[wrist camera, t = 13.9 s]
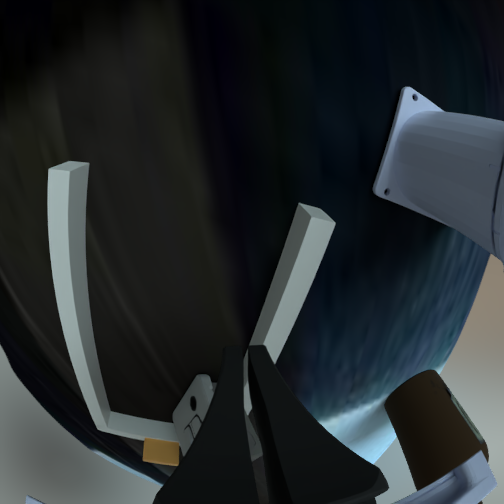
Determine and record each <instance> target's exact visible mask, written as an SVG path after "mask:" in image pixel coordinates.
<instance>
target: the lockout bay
mask: <svg viewBox="0 0 504 504" xmlns="http://www.w3.org/2000/svg"><path fill="white" fill-rule="evenodd" d="M88 171H89V163H84V162H75V161H68V162H65V163H63V164H60V165H57V166H55V167H52V168H50V169H49V174H48V230H49V245H50V256H51V266H52V274H53V281H54V287H55V293H56V299H57V305H58V310H59V314H60V319H61V324H62V328H63V332H64V336H65V340H66V344H67V347H68V351H69V354H70V358H71V361H72V364H73V368H74V371H75V374H76V377H77V380H78V382H79V385H80V388H81V391H82V393H83V396H84V399H85V401H86V404H87V406H88V409H89V411H90V413H91V416H92V418H93V420H94V423H95V425H96V427H97V429H98V430H101V431H104V432H108V433H112V434H116V435H120V436H125V437H129V438H134V439H139V440H144V452H143V461H146V462H152V463H158V464H165V465H173V466H178V465H179V446H180V443H179V440H178V437H177V433H176V430H175V426H174V423H168V422H161V421H155V420H150V419H144V418H139V417H134V416H129V415H125V414H121V413H116V412H112V411H111V410H110V407H109V403H108V400H107V396H106V392H105V388H104V384H103V380H102V376H101V371H100V367H99V362H98V357H97V352H96V347H95V341H94V335H93V329H92V322H91V314H90V306H89V296H88V285H87V271H86V243H85V224H86V196H87V182H88ZM335 224H336V223H335V222H334V221H333V220H332V219H331V218H330V217H329V216H328V215H327V214H326V213H325V212H323V211H322V210H321V209H320V208H316V207H312V206H308V205H305V204H301V203H298V206H297V210H296V213H295V216H294V219H293V222H292V225H291V228H290V231H289V234H288V237H287V240H286V243H285V246H284V249H283V252H282V254H281V257H280V260H279V263H278V266H277V269H276V272H275V275H274V278H273V280H272V283H271V286H270V289H269V292H268V295H267V297H266V300H265V303H264V306H263V309H262V311H261V314H260V317H259V320H258V322H257V325H256V328H255V331H254V333H253V336H252V339H251V341H250V344H249V345H265V346H266V348H267V350H268V352H269V354H270V356H271V358H272V360H273V362H274V364H275V363H276V360H277V358H278V356H279V354H280V352H281V350H282V348H283V346H284V344H285V342H286V340H287V338H288V336H289V333H290V331H291V329H292V327H293V325H294V323H295V320H296V318H297V316H298V314H299V312H300V309H301V307H302V305H303V303H304V300H305V298H306V296H307V293H308V291H309V289H310V286H311V284H312V282H313V279H314V277H315V275H316V272H317V270H318V267H319V265H320V262H321V260H322V257H323V255H324V252H325V250H326V247H327V245H328V242H329V240H330V237H331V234H332V232H333V229H334V227H335ZM244 408H245V411H246V413H247V415H248V414H249V412H250V411H251V409H252V405H251V400H250V394H249V385H248V349H247V352H246V355H245V357H244Z"/></svg>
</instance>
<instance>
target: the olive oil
mask: <svg viewBox="0 0 504 504" xmlns="http://www.w3.org/2000/svg"><path fill="white" fill-rule="evenodd" d="M384 407H385V410H386V412H387V414H388V417H389V419H390V421H391V423H392V426H393V428H394V430H395V433H396V435H397V437H398V440H399V442H400V445H401V448H402V450H403V453H404V455H405V458H406V461H407V464H408V466H409V469H410V472H411V475H412V478H413V481H414V484H415V487H416V489H417V491H419V490H421V489H422V488H424V487H426V486H428V485H430V484H431V483H433V482H435V481H436V480H437V479H439V478H441V477H442V476H444V475H445V474H447V473H448V472H450V471H452V470H453V469H455V468H456V467H458V466H459V465H461V464H462V463H463V462H465V461H466V460H468V459H469V458H470V457H472V456H473V455H474V454H476V453H477V452H478V451H480V450H481V451H482V453H483V455H484V457H485V459H486V461H487V463H488V459H489V454H488V448H487V444H486V442H485V440H484V439H483V437H482V436H481V434H480V433H479V431H478V430H477V428H476V427H475V425H474V424H473V422H472V421H471V420H470V418H469V417H468V415H467V414H466V412H465V411H464V409H463V408H462V407H461V405H460V404H459V402H458V401H457V400H456V398H455V397H454V395H453V394H452V392H451V391H450V390H449V388H448V387H447V386H446V384H445V383H444V381H443V380H442V379H441V377H440V376H439V374H438V373H437V372H436V371H435V370H427V371H424V372H422V373H420V374H418V375H416V376H414V377H412V378H411V379H409V380H408V381H406V382H405V383H403V384H402V385H401V386H400V387H398V388H397V389H396V390H395V391H394V392H393V393H392V394H391V395H390V396H389V397H388V399H387V400H386V402H385V405H384ZM478 504H482V500H481V501H480V502H479V503H478Z"/></svg>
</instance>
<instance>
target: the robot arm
mask: <svg viewBox="0 0 504 504" xmlns="http://www.w3.org/2000/svg"><path fill="white" fill-rule="evenodd" d="M412 95H414V100H413V98H412ZM386 188H387V192H386V193H385V194H384V190H385V189H386ZM373 192H374V194H375V195H377V196H379V197H381V198H384V199H387V200H389V201H392V202H394V203H397V204H399V205H402V206H404V207H407V208H409V209H411V210H414V211H416V212H418V213H421V214H423V215H425V216H428V217H430V218H432V219H434V220H437V221H439V222H441V223H443V224H445V225H447V226H450V227H453V228H454V229H456V230H457V231H459V232H461V233H462V234H464V235H465V236H467V237H468V238H470V239H471V240H473V241H474V242H476V243H477V244H478V245H480V246H481V247H483V248H484V249H486V250H487V251H488V252H490V253H491V254H493V255H494V256H495V257H497V258H498V259H499V260H501V261H502V262H503V265H504V121H499V120H494V119H489V118H484V117H478V116H472V115H466V114H459V113H451V112H444V111H443V110H441V109H440V108H439V107H437V106H436V105H435V104H433V103H432V102H431V101H429V100H428V99H427V98H425V97H424V96H422V95H421V94H419V93H418V92H416V91H415V90H413V89H412V88H410V87H404V88H402V90H401V94H400V98H399V102H398V106H397V110H396V114H395V117H394V121H393V125H392V128H391V132H390V135H389V139H388V142H387V145H386V149H385V152H384V155H383V158H382V161H381V165H380V168H379V171H378V174H377V177H376V180H375V182H374V185H373ZM248 385H249V394H250V400H251V405H252V409H253V413H254V417H255V422H256V426H257V430H258V434H259V438H260V442H261V447H262V453H263V460H264V467H265V475H266V482H267V489H268V497H269V504H376V500H375V497H376V496H378V495H380V494H382V493H384V492H385V491H387V490H388V488H389V486H388V483H387V480H386V479H385V477H384V475H383V473H382V472H381V470H380V469H379V468H378V467H377V466H375V465H373V464H371V463H370V462H368V461H366V460H365V459H363V458H362V457H360V456H359V455H357V454H356V453H354V452H353V451H352V450H350V449H349V448H347V447H346V446H345V445H344V444H342V443H341V442H340V441H339V440H338V439H336V438H335V437H334V436H333V435H332V434H330V433H329V432H328V431H327V430H326V429H325V428H324V427H323V426H322V425H321V424H320V423H319V422H318V421H317V420H316V419H315V418H314V417H313V416H312V415H311V414H310V413H309V412H308V411H307V409H306V408H305V407H304V406H303V405H302V403H301V402H300V401H299V400H298V398H297V397H296V396H295V395H294V393H293V392H292V390H291V389H290V388H289V386H288V385H287V383H286V382H285V380H284V379H283V377H282V376H281V374H280V372H279V371H278V369H277V367H276V366H275V364H274V362H273V360H272V358H271V356H270V354H269V352H268V350H267V348H266V346H265V345H249V346H248ZM496 486H497V482H496V480H495V478H494V475H493V473H492V471H491V469H490V467H489V465H488V463H487V461H486V459H485V457H484V455H483V453H482V451H481V450H480V451H478V452H477V453H476V454H474V455H473V456H472V457H470V458H469V459H468V460H466V461H465V462H463V463H462V464H461V465H459V466H458V467H456V468H455V469H453V470H452V471H450V472H448V473H447V474H445V475H444V476H442V477H441V478H439V479H437V480H436V481H435V482H433V483H431V484H430V485H428V486H426V487H424V488H422V489H421V490H419V491H417V492H415V493H413V494H411V495H409V496H407V497H405V498H403V499H401V500H399V501H397V502H395V503H393V504H478V503H479V502H480V501H481V500H482V499H483V498H484V497H485V496H487V494H489V493H490V492H491V491H492V490H493V489H494V488H495V487H496ZM26 504H45V503H43V502H41V501H39V500H37V499H35V498H33V497H31V496H29V495H27V496H26ZM153 504H259V499H258V493H257V488H256V483H255V478H254V472H253V466H252V460H251V454H250V448H249V441H248V435H247V428H246V421H245V413H244V360H243V354H242V348H241V346H231V347H225V348H223V358H222V364H221V369H220V374H219V378H218V381H217V384H216V388H215V391H214V394H213V397H212V400H211V402H210V405H209V408H208V410H207V413H206V415H205V418H204V420H203V422H202V424H201V426H200V428H199V430H198V432H197V434H196V436H195V438H194V440H193V442H192V444H191V446H190V447H189V449H188V451H187V452H186V454H185V456H184V457H183V459H182V460H181V462H180V463H179V465H178V466H177V468H176V469H175V471H174V472H173V474H172V475H171V476H170V478H169V479H168V480H167V481H166V483H165V484H164V485H163V486H162V488H161V489H160V490H159V491H158V493H157V494H156V496H155V499H154V501H153Z"/></svg>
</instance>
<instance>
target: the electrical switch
mask: <svg viewBox="0 0 504 504" xmlns="http://www.w3.org/2000/svg"><path fill="white" fill-rule="evenodd" d="M216 384H217V383H211V380H210V377H209V376H208V375H207V374H199V375H197V376H196V377H195V379H194V381H193V382H192V384H191V385H190V387H189V388H188V390H187V392H186V393H185V395H184V396H183V398H182V399H181V401H180V403H179V404H178V406H177V407H176V409H175V410H174V412H173V422H174V426H175V430H176V433H177V437H178V440H179V443H180V446H181V450H182V453H183V456H185V454H186V452H187V451H188V449H189V447H190V446H191V444H192V442H193V440H194V438H195V436H196V434H197V432H198V430H199V428H200V426H201V424H202V422H203V420H204V418H205V415H206V413H207V410H208V408H209V405H210V402H211V400H212V397H213V394H214V391H215V388H216ZM244 413H245V421H246V428H247V435H248V441H249V448H250V454H251V460H252V461H254V460H255V459H257V458H258V457H260V456H262V455H263V453H262V447H261V443H260V441H259V439H258V437H257V435H256V433H255V431H254V428H253V426H252V424H251V422H250V420H249V417H248V415H247V413H246V411H245V408H244ZM259 453H260V454H259Z"/></svg>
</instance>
